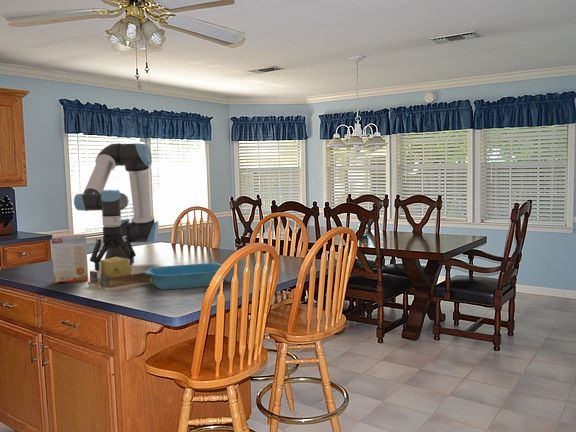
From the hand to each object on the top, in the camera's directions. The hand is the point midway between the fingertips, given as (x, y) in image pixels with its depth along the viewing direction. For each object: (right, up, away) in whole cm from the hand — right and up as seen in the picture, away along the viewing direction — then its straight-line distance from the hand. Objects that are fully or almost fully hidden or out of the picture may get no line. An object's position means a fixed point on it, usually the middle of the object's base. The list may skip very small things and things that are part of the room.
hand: (114, 275), depth 222 cm
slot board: (+5, -3, +5) cm, 8 cm away
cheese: (0, -3, 0) cm, 3 cm away
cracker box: (-22, -4, +9) cm, 24 cm away
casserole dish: (+32, -4, 0) cm, 32 cm away
